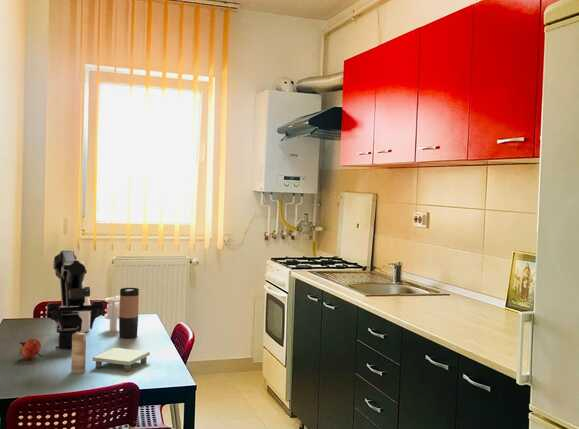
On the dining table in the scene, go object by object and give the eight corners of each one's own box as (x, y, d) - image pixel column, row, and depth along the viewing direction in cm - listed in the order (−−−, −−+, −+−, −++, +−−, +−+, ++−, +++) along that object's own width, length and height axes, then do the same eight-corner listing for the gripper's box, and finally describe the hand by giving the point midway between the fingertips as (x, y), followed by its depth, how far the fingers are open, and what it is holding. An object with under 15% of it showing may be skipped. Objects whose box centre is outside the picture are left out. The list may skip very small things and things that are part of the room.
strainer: (121, 331, 259) (121, 297, 259) (103, 332, 258) (104, 297, 257) (122, 328, 266) (122, 294, 266) (105, 328, 265) (106, 294, 264)
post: (76, 368, 204) (77, 332, 203) (87, 370, 203) (88, 333, 202) (68, 372, 200) (69, 335, 199) (80, 374, 198) (81, 336, 198)
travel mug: (131, 333, 256) (133, 287, 256) (141, 337, 251) (142, 289, 250) (115, 336, 251) (116, 288, 250) (124, 339, 246) (125, 291, 245)
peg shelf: (114, 357, 219) (114, 347, 219) (149, 361, 215) (149, 351, 215) (92, 368, 205) (92, 357, 205) (128, 372, 202) (129, 361, 202)
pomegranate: (35, 361, 219) (11, 347, 214) (48, 344, 220) (25, 330, 216) (37, 368, 212) (13, 354, 208) (51, 351, 214) (27, 337, 209)
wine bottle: (92, 329, 262) (94, 260, 261) (85, 334, 253) (87, 263, 252) (70, 328, 262) (72, 259, 261) (62, 333, 252) (64, 262, 252)
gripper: (47, 279, 207) (49, 317, 197) (104, 278, 215) (108, 314, 205) (45, 298, 214) (47, 336, 204) (100, 296, 222) (104, 332, 212)
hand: (77, 329), depth 206 cm, fingers open, 9 cm apart
